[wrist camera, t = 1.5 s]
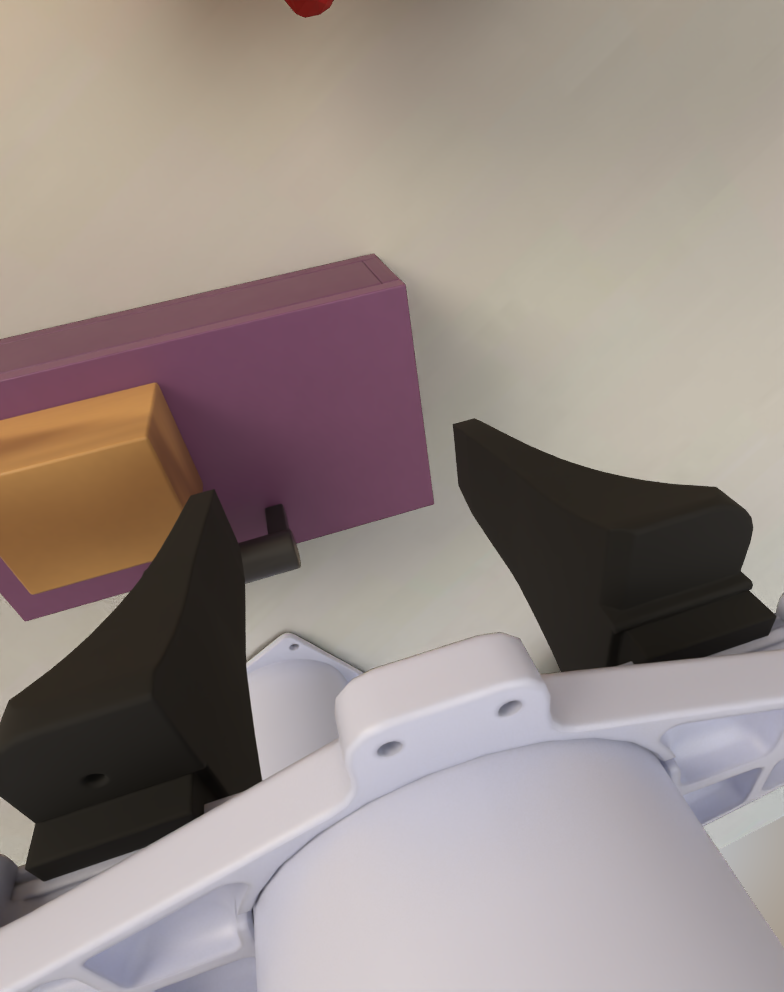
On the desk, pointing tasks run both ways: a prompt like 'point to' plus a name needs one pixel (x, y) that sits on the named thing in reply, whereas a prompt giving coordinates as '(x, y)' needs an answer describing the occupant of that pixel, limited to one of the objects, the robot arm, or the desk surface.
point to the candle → (309, 6)
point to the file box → (191, 312)
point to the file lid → (265, 424)
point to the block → (91, 487)
